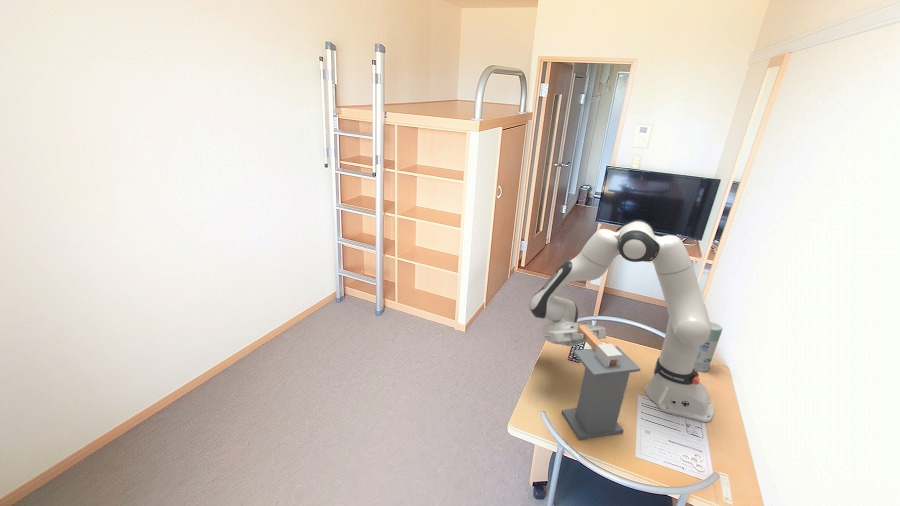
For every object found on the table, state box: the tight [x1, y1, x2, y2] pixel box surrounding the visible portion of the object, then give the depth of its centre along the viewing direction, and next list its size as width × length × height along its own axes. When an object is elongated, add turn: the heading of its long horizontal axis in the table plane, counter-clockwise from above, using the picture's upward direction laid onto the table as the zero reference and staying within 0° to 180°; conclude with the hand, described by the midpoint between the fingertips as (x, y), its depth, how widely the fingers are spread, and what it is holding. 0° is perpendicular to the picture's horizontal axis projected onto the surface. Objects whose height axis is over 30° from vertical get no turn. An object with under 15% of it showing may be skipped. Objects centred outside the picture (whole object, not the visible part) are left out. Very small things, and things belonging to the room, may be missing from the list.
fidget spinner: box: [679, 452, 706, 473], centre depth 127 cm, size 7×6×1 cm
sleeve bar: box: [577, 325, 622, 367], centre depth 135 cm, size 20×5×4 cm, turn 13°
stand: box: [561, 345, 641, 441], centre depth 135 cm, size 12×16×26 cm
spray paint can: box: [694, 321, 723, 373], centre depth 168 cm, size 6×6×20 cm
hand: (589, 335), depth 139 cm, fingers closed on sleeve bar, 2 cm apart
